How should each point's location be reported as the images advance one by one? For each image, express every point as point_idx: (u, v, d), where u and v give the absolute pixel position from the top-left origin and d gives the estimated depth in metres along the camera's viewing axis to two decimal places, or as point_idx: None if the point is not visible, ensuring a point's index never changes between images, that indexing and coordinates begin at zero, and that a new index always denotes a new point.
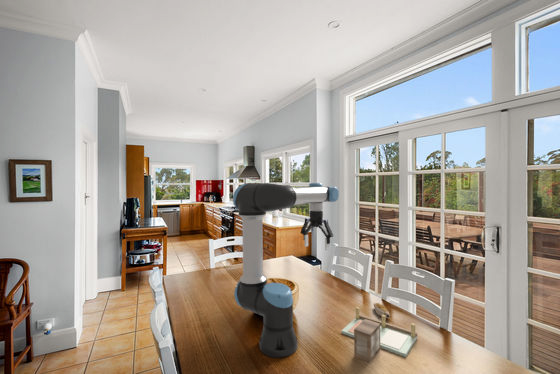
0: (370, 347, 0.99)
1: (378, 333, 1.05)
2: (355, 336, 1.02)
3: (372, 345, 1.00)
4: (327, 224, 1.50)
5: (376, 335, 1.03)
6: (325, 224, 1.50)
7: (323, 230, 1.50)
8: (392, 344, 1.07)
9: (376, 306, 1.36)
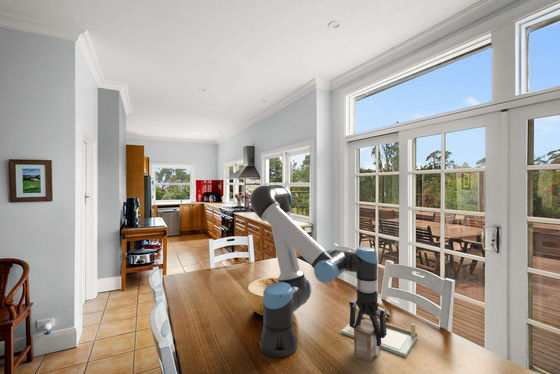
0: (370, 347, 0.99)
1: None
2: (355, 336, 1.02)
3: (372, 345, 1.00)
4: (384, 317, 1.00)
5: None
6: (381, 317, 0.99)
7: (375, 324, 1.01)
8: (392, 344, 1.07)
9: None
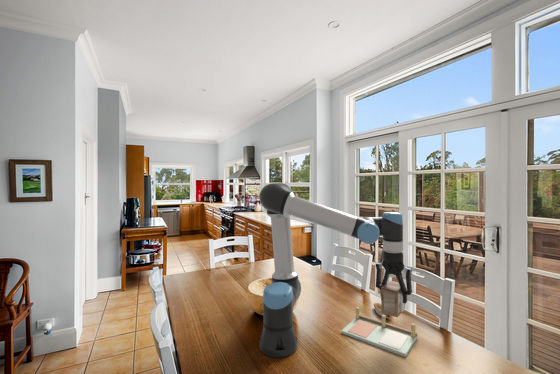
0: (397, 303, 1.05)
1: None
2: (382, 294, 1.08)
3: (399, 302, 1.06)
4: (409, 275, 1.06)
5: None
6: (407, 275, 1.06)
7: (401, 283, 1.07)
8: (392, 344, 1.07)
9: (376, 306, 1.36)
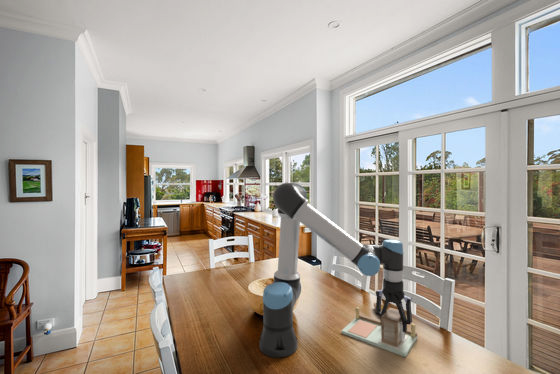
0: (397, 333, 1.05)
1: None
2: (382, 323, 1.08)
3: (399, 331, 1.06)
4: (410, 305, 1.06)
5: None
6: (407, 305, 1.06)
7: (401, 312, 1.07)
8: None
9: None
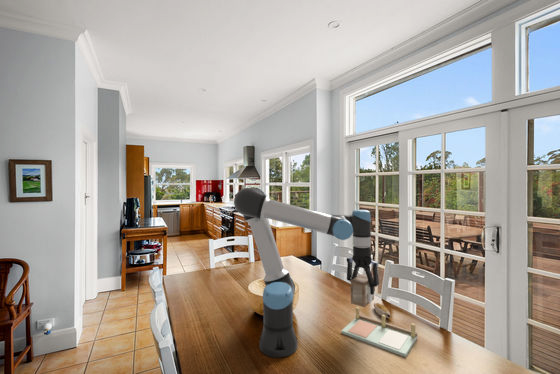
0: (365, 294, 1.14)
1: None
2: (351, 286, 1.17)
3: (366, 293, 1.14)
4: (376, 268, 1.15)
5: None
6: (374, 268, 1.14)
7: (369, 275, 1.15)
8: (392, 344, 1.07)
9: (376, 306, 1.36)
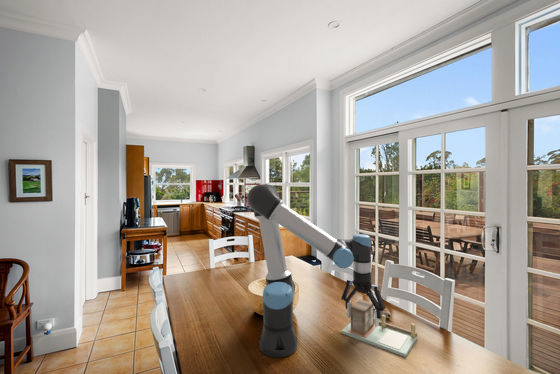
0: (365, 322, 1.14)
1: (372, 311, 1.20)
2: (351, 313, 1.17)
3: (366, 321, 1.15)
4: (378, 292, 1.14)
5: (370, 312, 1.18)
6: (376, 292, 1.14)
7: (372, 300, 1.15)
8: (392, 344, 1.07)
9: None
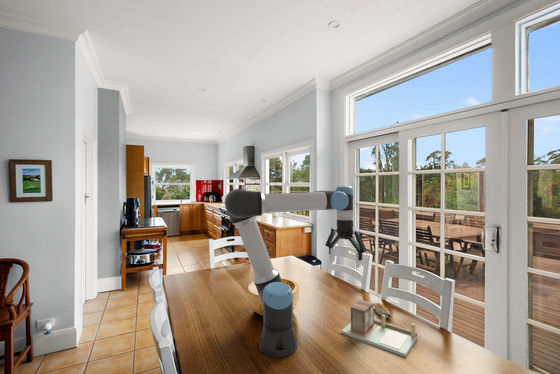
0: (365, 322, 1.14)
1: (372, 311, 1.20)
2: (351, 313, 1.17)
3: (366, 321, 1.15)
4: (359, 236, 1.24)
5: (370, 312, 1.18)
6: (356, 236, 1.23)
7: (354, 243, 1.24)
8: (392, 344, 1.07)
9: (376, 306, 1.36)
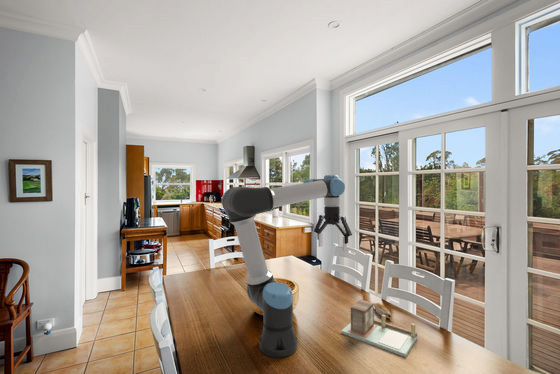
0: (365, 322, 1.14)
1: (372, 311, 1.20)
2: (351, 313, 1.17)
3: (366, 321, 1.15)
4: (345, 221, 1.33)
5: (370, 312, 1.18)
6: (343, 221, 1.33)
7: (340, 228, 1.34)
8: (392, 344, 1.07)
9: (376, 306, 1.36)
